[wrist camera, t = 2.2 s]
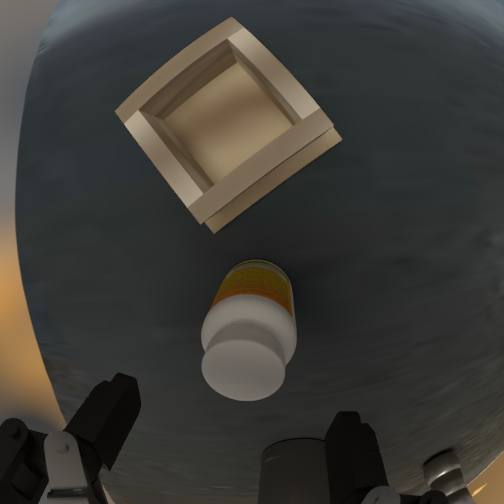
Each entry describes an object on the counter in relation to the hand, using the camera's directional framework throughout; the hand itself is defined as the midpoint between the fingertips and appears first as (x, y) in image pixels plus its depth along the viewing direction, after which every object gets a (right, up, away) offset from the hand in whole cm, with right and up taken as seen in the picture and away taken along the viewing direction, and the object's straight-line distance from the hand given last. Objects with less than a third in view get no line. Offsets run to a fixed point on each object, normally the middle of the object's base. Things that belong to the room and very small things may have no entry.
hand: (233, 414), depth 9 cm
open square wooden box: (-1, +15, +9) cm, 18 cm away
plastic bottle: (+32, -29, +19) cm, 47 cm away
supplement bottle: (+1, +3, +12) cm, 13 cm away
